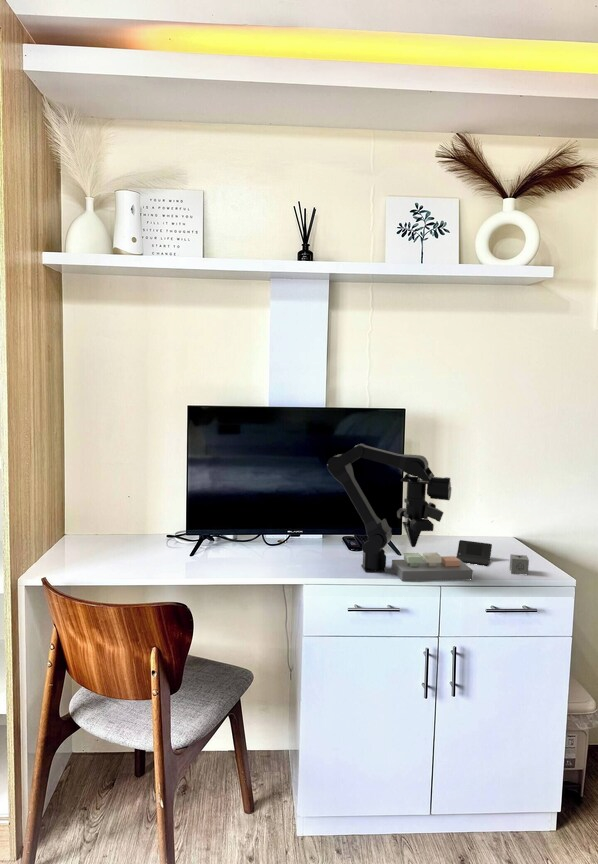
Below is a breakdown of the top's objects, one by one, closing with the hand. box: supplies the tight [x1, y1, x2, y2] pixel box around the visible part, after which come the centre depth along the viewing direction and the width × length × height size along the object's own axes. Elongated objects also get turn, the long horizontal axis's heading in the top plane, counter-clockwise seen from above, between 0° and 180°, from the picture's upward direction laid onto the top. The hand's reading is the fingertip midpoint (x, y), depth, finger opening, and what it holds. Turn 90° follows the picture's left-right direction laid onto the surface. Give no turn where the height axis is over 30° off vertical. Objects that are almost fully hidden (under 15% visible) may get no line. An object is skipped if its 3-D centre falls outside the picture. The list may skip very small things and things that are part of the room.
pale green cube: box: [403, 552, 423, 567], centre depth 215 cm, size 5×5×5 cm
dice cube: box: [509, 554, 530, 576], centre depth 220 cm, size 5×5×5 cm
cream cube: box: [421, 552, 442, 566], centre depth 215 cm, size 5×5×5 cm
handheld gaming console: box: [455, 539, 493, 567], centre depth 232 cm, size 12×7×10 cm
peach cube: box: [440, 555, 460, 566], centre depth 216 cm, size 5×5×5 cm
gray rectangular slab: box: [391, 558, 474, 582], centre depth 216 cm, size 22×12×3 cm, turn 98°
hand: (413, 546), depth 214 cm, fingers closed
